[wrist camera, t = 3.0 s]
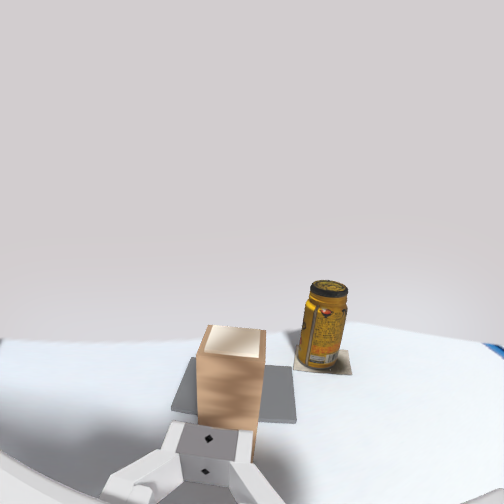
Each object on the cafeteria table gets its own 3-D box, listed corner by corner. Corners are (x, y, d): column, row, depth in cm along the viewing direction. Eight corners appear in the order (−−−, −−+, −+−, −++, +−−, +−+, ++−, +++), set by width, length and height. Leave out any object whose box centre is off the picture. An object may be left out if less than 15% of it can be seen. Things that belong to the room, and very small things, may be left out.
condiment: (296, 345, 48) (306, 275, 45) (347, 351, 47) (362, 281, 44) (293, 370, 41) (305, 292, 38) (351, 376, 40) (370, 299, 37)
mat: (171, 410, 31) (170, 406, 31) (191, 360, 42) (191, 357, 42) (295, 423, 30) (296, 420, 30) (290, 370, 41) (291, 366, 41)
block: (200, 459, 24) (196, 351, 21) (208, 425, 29) (208, 321, 26) (252, 464, 24) (265, 358, 21) (254, 430, 29) (266, 327, 26)
